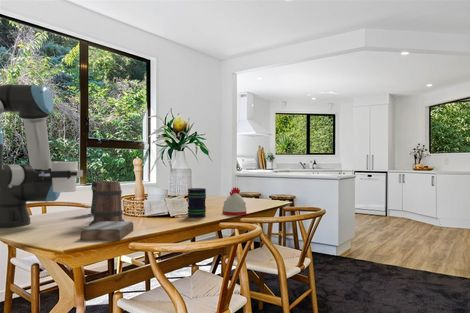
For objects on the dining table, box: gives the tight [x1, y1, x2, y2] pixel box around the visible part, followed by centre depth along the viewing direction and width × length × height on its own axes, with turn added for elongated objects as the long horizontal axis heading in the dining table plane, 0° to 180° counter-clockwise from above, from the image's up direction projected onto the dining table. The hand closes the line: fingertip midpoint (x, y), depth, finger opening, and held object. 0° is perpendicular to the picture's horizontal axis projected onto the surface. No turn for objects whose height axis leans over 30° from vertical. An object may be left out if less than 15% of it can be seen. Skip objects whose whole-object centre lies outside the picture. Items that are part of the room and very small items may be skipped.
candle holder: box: [51, 161, 79, 193], centre depth 142 cm, size 10×10×12 cm
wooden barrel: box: [90, 180, 110, 215], centre depth 198 cm, size 10×8×19 cm
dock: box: [79, 220, 134, 241], centre depth 142 cm, size 15×18×4 cm
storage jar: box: [187, 187, 207, 219], centre depth 190 cm, size 10×10×15 cm
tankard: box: [88, 181, 126, 226], centre depth 167 cm, size 24×17×20 cm
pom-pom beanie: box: [222, 186, 247, 216], centre depth 203 cm, size 14×14×15 cm
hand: (74, 173), depth 146 cm, fingers closed on candle holder, 9 cm apart
